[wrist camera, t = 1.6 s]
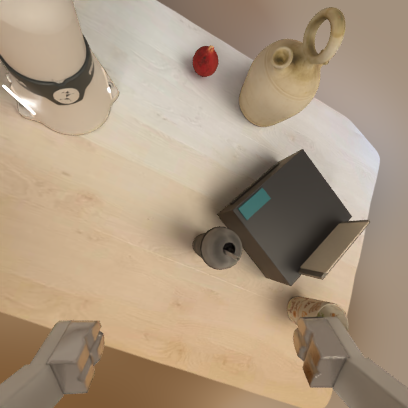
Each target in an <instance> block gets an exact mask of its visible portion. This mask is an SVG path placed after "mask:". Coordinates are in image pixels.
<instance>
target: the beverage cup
mask: <svg viewBox="0 0 408 408" xmlns="http://www.w3.org/2000/svg"><path fill="white" fill-rule="evenodd" d="M193 249H194V251H195V252H196V253H197V254H198V255H199V256H200V257H201V258H203V260H204V262H205V263H206V264H207V265H208V266H209V267H212V268H214V269H219V270H222V269H227V268H231V267H232V266H234V265H235V264H236V263H237V262H238V261H239V259H240V257H241V255H242V243H241V240H240V238H239V236H238V235H237V234H236V233H235V232H234V231H232V230H230V229H228V228H226V227H220V226H219V227H214V228H212V229H210V230H209V231H207V232H206V233H203V234H201V235H199V236H197V237H196V238H195V239H194V241H193Z"/></svg>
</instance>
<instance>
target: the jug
mask: <svg viewBox="0 0 408 408" xmlns="http://www.w3.org/2000/svg"><path fill="white" fill-rule="evenodd" d="M326 19H328V20H329V22H330V25H331V32H330V38H329V41H328V44H327V46H326V47H325V49H324V50H321V52H320V53H319V54H318V53H317V52H316V50H315V43H314V42H315V35H316V32H317V30H318V28H319V26H320V25H321V24H322V23H323V22H324V21H325V20H326ZM344 32H345V18H344V15H343V13H342V12H341V11H340V10H339V9H337V8H333V7H329V8H325V9H323V10H321V11H320V12H318V13H317V14H316V15H315V16H314V17H313V18H312V19H311V21H310V22H309V24H308V26H307V28H306V30H305V33H304V37H303V43H302V42H300V41H297V40H293V39H282V40H279V41H276V42H274V43H272V44H271V45H269V46H267V47H266V48H265V49H263V50H262V51H261V52H260V53H259V54H258V56H257V57H256V58H255V60H254V61H253V63H252V65H251V67H250V69H249V71H248V74H247V76H246V79H245V82H244V84H243V86H242V89H241V93H240V96H239V105H240V109H241V111H242V113H243V115H244V116H245V117H246V119H247V120H248V121H250V122H251V123H253V124H254V125H257V126H261V127H267V126H271V125H275V124H277V123H279V122H281V121H284V120H286V119H288V118H290V117H292V116H294V115H296V114H298V113H299V112H300V111H302V110H303V109H304V108H305V107H306V106H307V105H308V104H309V103H310V102H311V100H312V99H313V97H314V96H315V94H316V92H317V89H318V87H319V82H320V68H321V66H322V65H326V64H328V63H329V60H330V59H331V58H332V57H333V56H334V55H335V54H336V52H337V50H338V49H339V47H340V45H341V43H342V39H343V37H344Z"/></svg>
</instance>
